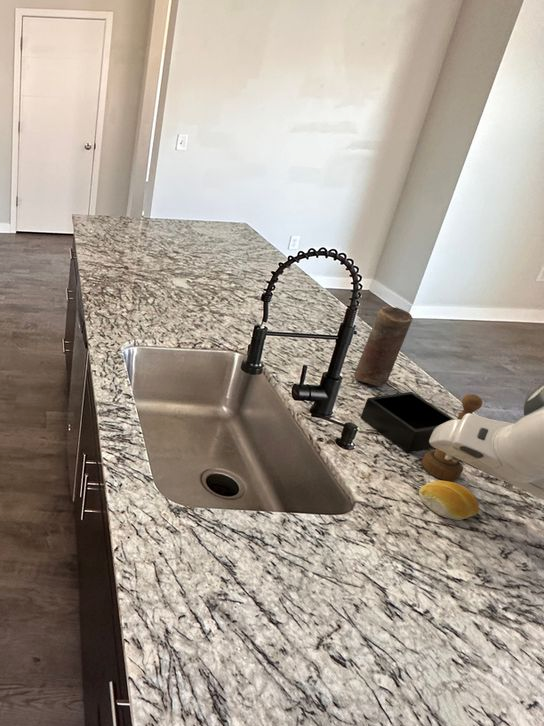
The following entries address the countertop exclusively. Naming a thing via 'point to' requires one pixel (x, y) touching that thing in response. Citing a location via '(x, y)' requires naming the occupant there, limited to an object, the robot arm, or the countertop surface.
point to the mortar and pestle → (436, 459)
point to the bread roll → (449, 499)
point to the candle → (383, 346)
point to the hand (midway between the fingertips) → (478, 471)
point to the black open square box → (404, 419)
